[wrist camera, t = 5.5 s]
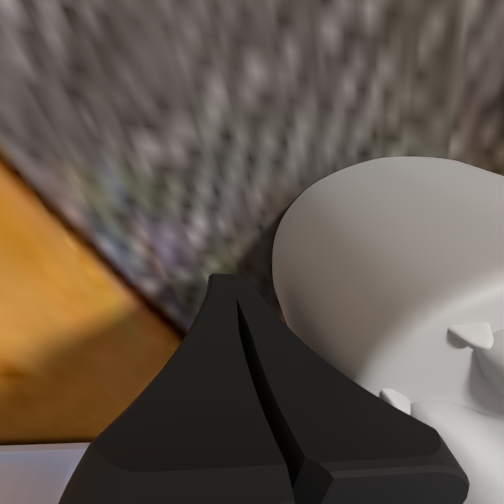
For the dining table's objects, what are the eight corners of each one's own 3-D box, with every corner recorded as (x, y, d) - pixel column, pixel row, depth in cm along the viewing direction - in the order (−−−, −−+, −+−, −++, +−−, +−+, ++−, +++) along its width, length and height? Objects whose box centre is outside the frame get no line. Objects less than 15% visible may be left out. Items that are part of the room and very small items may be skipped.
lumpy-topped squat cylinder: (407, 391, 19) (548, 606, 11) (215, 304, 14) (235, 584, 6) (566, 256, 15) (924, 432, 8) (388, 76, 10) (895, 80, 3)
